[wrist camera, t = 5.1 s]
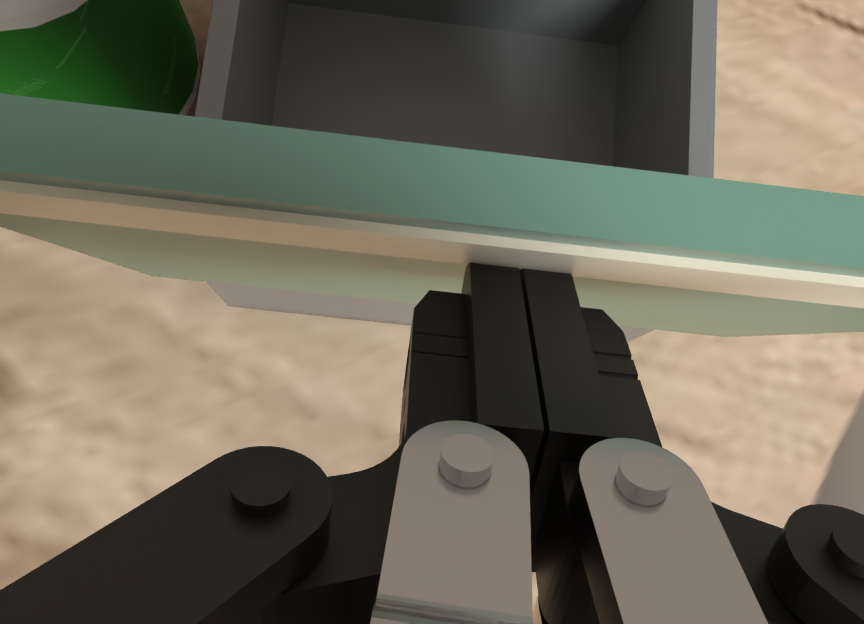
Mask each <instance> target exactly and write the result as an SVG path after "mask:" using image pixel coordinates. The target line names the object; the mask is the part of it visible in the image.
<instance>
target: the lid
mask: <svg viewBox="0 0 864 624" xmlns="http://www.w3.org/2000/svg"><path fill="white" fill-rule="evenodd" d="M0 227H3V228H6V229H10V230H13V231H16V232H19V233H22V234H25V235H28V236H31V237H34V238H37V239H40V240H43V241H46V242H49V243H53V244H56V245H59V246H62V247H65V248H68V249H71V250H74V251H77V252H80V253H83V254H86V255H89V256H92V257H96V258H99V259H102V260H105V261H108V262H111V263H114V264H117V265H120V266H123V267H126V268H129V269H132V270H135V271H139V272H142V273H145V274H148V275H151V276H158V277H167V278H176V279H186V280H195V281H205V282H214V283H223V284H233V285H242V286H251V287H261V288H270V289H280V290H289V291H298V292H308V293H317V294H326V295H336V296H345V297H355V298H364V299H373V300H383V301H392V302H402V303H411V304H418V303H419V302H420V301H421V300H422V298H423V297H424V296H425V295H426V294H427V293H428V291H429V290H434V291H443V292H452V293H460V294H461V291H462V286H463V280H464V274H465V269H466V265H468V264H469V263H478V264H487V265H496V266H505V267H514V268H519V270H521V269H532V270H541V271H550V272H559V273H567V274H572V277H573V280H574V284H575V288H576V292H577V295H578V299H579V303H580V307H585V308H594V309H603V311H604V312H605V313H606V314H607V315H608V316H609V317H610V318H611V319H612V320H613V321H614V322H615V323H616V324H617V325H618V326H627V327H636V328H645V329H655V330H664V331H674V332H683V333H692V334H702V335H711V336H720V337H740V336H766V335H791V334H817V333H843V332H864V196H856V195H848V194H840V193H831V192H823V191H814V190H806V189H798V188H789V187H781V186H772V185H764V184H756V183H747V182H739V181H731V180H722V179H714V178H705V177H697V176H689V175H680V174H672V173H663V172H655V171H647V170H638V169H630V168H622V167H613V166H605V165H596V164H588V163H580V162H571V161H563V160H554V159H546V158H538V157H529V156H521V155H513V154H504V153H496V152H487V151H479V150H471V149H462V148H454V147H445V146H437V145H429V144H420V143H412V142H404V141H395V140H387V139H378V138H370V137H362V136H353V135H345V134H337V133H328V132H320V131H311V130H303V129H295V128H286V127H278V126H269V125H261V124H253V123H244V122H236V121H228V120H219V119H211V118H202V117H194V116H186V115H177V114H169V113H160V112H152V111H144V110H135V109H127V108H119V107H110V106H102V105H93V104H85V103H77V102H68V101H60V100H51V99H43V98H35V97H26V96H18V95H10V94H1V93H0Z"/></svg>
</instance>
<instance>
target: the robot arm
mask: <svg viewBox="0 0 864 624" xmlns="http://www.w3.org/2000/svg"><path fill="white" fill-rule="evenodd" d="M532 572H536V578H537V587H538V596H537V599H536V602H535V606H534V609H533V612H532ZM0 624H864V515H862V514H860V513H857V512H855V511H853V510H849V509H846V508H843V507H839V506H833V505H824V504H823V505H822V504H818V505H817V504H816V505H809V506H805V507H802V508H800V509H798V510H796V511H795V512H794V513H793V514H792V515H791V516H790V517H789V519H788V521H787V523H786V524H785V526H784V528H783V529H782V528H779V527H777V526H774V525H771V524H768V523H765V522H762V521H759V520H756V519H754V518H751V517H748V516H745V515H742V514H739V513H736V512H733V511H731V510H728V509H726V508H723V507H721V506H719V505H717V504H715V503H713V502H711V501H710V499H709V497H708V495H707V493H706V491H705V488H704V486H703V484H702V483H701V481H700V479H699V477H698V476H697V475H696V473H695V472H694V471H693V470H692V469H691V468H690V467H689V466H688V465H687V464H686V463H685V462H684V461H683V460H681V459H680V458H679V457H677V456H676V455H675V454H673V453H671V452H669V451H668V450H666V449H664V448H662V445H661V442H660V439H659V436H658V433H657V430H656V427H655V424H654V421H653V418H652V415H651V412H650V409H649V406H648V403H647V400H646V397H645V394H644V391H643V388H642V385H641V382H640V380H638V373H637V370H636V367H635V364H634V361H633V360H631V352H630V350H629V347H628V344H627V341H626V338H625V335H624V332H623V331H622V330H621V328H620V327H619V326H618V325H617V324H616V323H615V322H614V321H613V320H612V319H611V318H610V317H609V316H608V315H607V314H606V313H605V312H604V311H603V309H594V308H585V307H580V303H579V299H578V295H577V292H576V288H575V284H574V280H573V277H572V274H567V273H559V272H550V271H541V270H532V269H521V270H519V268H514V267H505V266H496V265H487V264H478V263H469V264H468V265H466V269H465V274H464V280H463V286H462V291H461V294H460V293H452V292H443V291H434V290H429V291H428V293H427V294H426V295H425V296H424V297H423V298H422V300H421V301H420V302H419V303H418V304H417V305H416V307H415V308H414V312H413V319H412V327H411V334H410V342H409V349H408V357H407V364H406V372H405V379H404V386H403V397H402V411H401V425H400V439H399V448H398V449H397V450H396V451H395V452H394V453H393V454H392V455H391V456H390V457H389V458H387V459H386V460H385V461H383V462H382V463H380V464H378V465H376V466H374V467H371V468H369V469H366V470H363V471H359V472H354V473H350V474H343V475H337V476H331V477H327V476H326V474H325V473H324V472H323V471H322V469H321V468H320V467H319V466H318V465H317V464H316V463H315V462H314V461H312V460H311V459H309V458H307V457H306V456H304V455H302V454H300V453H298V452H295V451H292V450H289V449H285V448H280V447H272V446H257V447H248V448H244V449H239V450H236V451H233V452H230V453H227V454H225V455H223V456H221V457H219V458H217V459H215V460H214V461H212V462H210V463H209V464H207V465H205V466H204V467H202V468H201V469H199V470H197V471H196V472H194V473H192V474H191V475H189V476H187V477H186V478H184V479H182V480H181V481H179V482H178V483H176V484H174V485H173V486H171V487H169V488H168V489H166V490H164V491H163V492H161V493H159V494H158V495H156V496H155V497H153V498H151V499H150V500H148V501H146V502H145V503H143V504H141V505H140V506H138V507H136V508H135V509H133V510H132V511H130V512H128V513H127V514H125V515H123V516H122V517H120V518H118V519H117V520H115V521H113V522H112V523H110V524H108V525H107V526H105V527H104V528H102V529H100V530H99V531H97V532H95V533H94V534H92V535H90V536H89V537H87V538H85V539H84V540H82V541H81V542H79V543H77V544H76V545H74V546H72V547H71V548H69V549H67V550H66V551H64V552H62V553H61V554H59V555H58V556H56V557H54V558H53V559H51V560H49V561H48V562H46V563H44V564H43V565H41V566H39V567H38V568H36V569H35V570H33V571H31V572H30V573H28V574H26V575H25V576H23V577H21V578H20V579H18V580H16V581H15V582H13V583H12V584H10V585H8V586H7V587H5V588H3V589H2V590H0Z"/></svg>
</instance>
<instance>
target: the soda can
mask: <svg viewBox="0 0 864 624" xmlns="http://www.w3.org/2000/svg"><path fill="white" fill-rule="evenodd" d="M200 76H201V66H200V59H199V52H198V45H197V42H196V40H195V38H194V35H193V33H192V30H191V28H190V26H189V23H188V21H187V18H186V16H185V14H184V11H183V9H182V6H181V4H180V1H179V0H0V93H1V94H10V95H18V96H26V97H35V98H43V99H51V100H60V101H68V102H77V103H85V104H93V105H102V106H110V107H119V108H127V109H135V110H144V111H152V112H160V113H169V114H177V115H186V114H187V112H188V111H189V109H190V107H191V106H192V104H193V102H194V101H195V99H196V95H197V90H198V85H199V81H200Z"/></svg>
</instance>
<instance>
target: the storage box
mask: <svg viewBox="0 0 864 624" xmlns="http://www.w3.org/2000/svg"><path fill="white" fill-rule="evenodd" d="M716 38H717V0H213V7H212V13H211V19H210V25H209V31H208V37H207V43H206V50H205V56H204V62H203V68H202V74H201V80H200V86H199V92H198V99H197V105H196V111H195V117H202V118H211V119H219V120H228V121H236V122H244V123H253V124H261V125H269V126H278V127H286V128H295V129H303V130H311V131H320V132H328V133H337V134H345V135H353V136H362V137H370V138H378V139H387V140H395V141H404V142H412V143H420V144H429V145H437V146H445V147H454V148H462V149H471V150H479V151H487V152H496V153H504V154H513V155H521V156H529V157H538V158H546V159H554V160H563V161H571V162H580V163H588V164H596V165H605V166H613V167H622V168H630V169H638V170H647V171H655V172H663V173H672V174H680V175H689V176H697V177H705V178H713V171H714V127H715V82H716ZM207 283H208V284H209V285H210V286H211V287H212V288H213V289H214V291H215V292H216V293H217V294H218V295H219V296H220V297H221V298H222V299H223V300H224V301H225V303H226V304H227V305H228V306H232V307H242V308H251V309H261V310H270V311H280V312H289V313H299V314H308V315H318V316H327V317H337V318H346V319H356V320H366V321H375V322H385V323H394V324H404V325H412V319H413V312H414V308H415V307H416V305H417V304H411V303H402V302H392V301H383V300H373V299H364V298H355V297H345V296H336V295H326V294H317V293H308V292H298V291H289V290H280V289H270V288H261V287H251V286H242V285H233V284H223V283H214V282H207ZM619 327H620V328H621V330H622V331H623V332H624V335H625V338H626V341H627V342H629V341H631V340H633V339H635V338H638V337H640V336H642V335H644V334H646V333H649V332H651V331H653V330H655V329H645V328H636V327H627V326H619Z"/></svg>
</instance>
